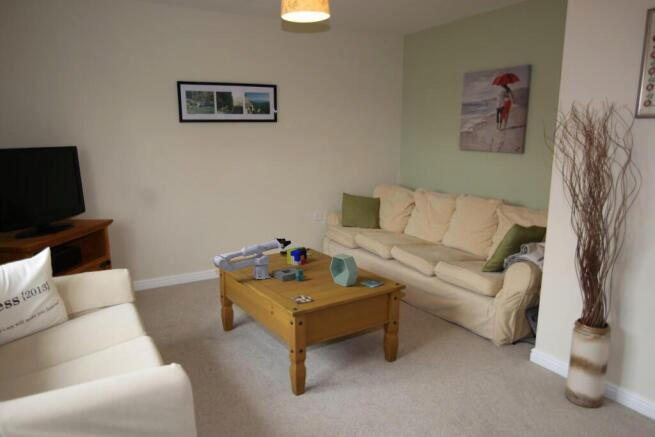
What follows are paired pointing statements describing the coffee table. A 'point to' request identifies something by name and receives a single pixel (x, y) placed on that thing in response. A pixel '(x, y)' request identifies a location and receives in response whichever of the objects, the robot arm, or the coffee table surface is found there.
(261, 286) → the coffee table surface
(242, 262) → the robot arm
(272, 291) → the coffee table surface
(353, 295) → the coffee table surface
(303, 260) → the puzzle toy
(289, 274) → the well block
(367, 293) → the coffee table surface
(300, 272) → the teal peg
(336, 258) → the planter
